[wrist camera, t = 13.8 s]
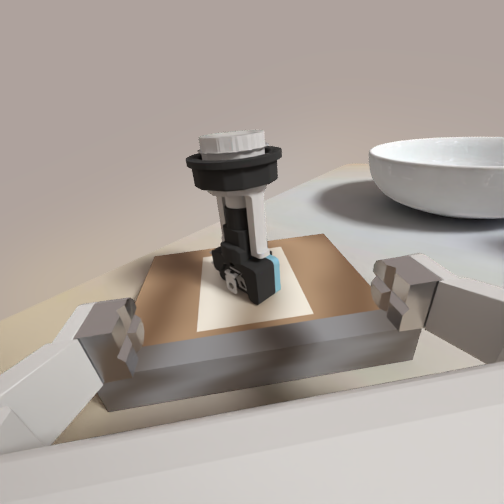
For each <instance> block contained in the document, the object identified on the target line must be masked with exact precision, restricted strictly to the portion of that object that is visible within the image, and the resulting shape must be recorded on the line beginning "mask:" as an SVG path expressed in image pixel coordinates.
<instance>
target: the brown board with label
mask: <svg viewBox="0 0 504 504" xmlns="http://www.w3.org/2000/svg"><path fill="white" fill-rule="evenodd" d="M267 242H268V248H269V250H270V251H272V255H273V256H275V257H277V258H278V260H279V264H280V284H281V290H279V291H278V292H276V293H275V294H274V295H272V296H271V297H269V298H268V299H266V300H265V301H263V302H262V303H260V304H259V305H255V304H254V303H252V302H251V301H250V300H249V297H248V294H246V293H244V292H243V291H241V290H240V289H238V288H237V291H238V293H237V294H234V293H233V292H231V291H230V290H229V289H228V288H227V283H226V281H225V280H223V279H222V278H221V276H220V272H219V271H218V270H216V269H215V267H214V264H212V263H211V262H212V261H213V258H212V254H210V253H209V252H210V251H212V250H214V249H216V248H214V249H206V250H199V251H191V252H184V253H177V254H169V255H162V256H155V257H154V260H153V262H152V264H151V267H150V269H149V272H148V274H147V276H146V279H145V281H144V283H143V286H142V288H141V291H140V293H139V295H138V298H137V300H136V303H135V305H136V307H137V308H136V311H135V315H137V316H138V317H140V318H141V320H142V323H143V327H144V342H143V345H142V348H141V349H140V350H139V351H138V352H137V353H136V354H137V357H138V362H137V365H136V369H135V372H134V375H133V378H128V379H123V380H118V381H113V382H108V383H103V386H102V387H101V388H100V390H99V391H98V392H97V393H98V395H99V397H100V398H101V400H102V402H103V404H104V405H105V407H106V409H107V410H108V412H111V411H117V410H123V409H128V408H134V407H140V406H146V405H152V404H157V403H163V402H169V401H175V400H181V399H187V398H192V397H198V396H204V395H210V394H216V393H222V392H227V391H233V390H239V389H245V388H251V387H257V386H262V385H268V384H274V383H280V382H286V381H291V380H297V379H303V378H309V377H315V376H321V375H326V374H332V373H338V372H344V371H350V370H356V369H361V368H367V367H373V366H379V365H385V364H391V363H396V362H402V361H408V360H413V356H414V353H415V350H416V346H417V343H418V339H419V336H420V333H421V329H422V328H421V329H414V330H407V331H400V332H399V331H398V330H397V329H396V328H395V326H394V325H393V324H392V323H391V322H390V321H389V319H388V318H387V312H386V311H384V310H382V309H380V308H378V306H377V305H376V304H375V302H374V300H373V298H372V295H371V286H370V285H369V284H368V283H367V282H366V281H365V280H364V278H363V277H362V276H361V275H360V274H359V273H358V272H357V271H356V270H355V268H354V267H353V266H352V265H351V264H350V263H349V262H348V261H347V259H346V258H345V257H344V256H343V255H342V254H341V253H340V252H339V251H338V249H337V248H336V247H335V246H334V245H333V244H332V243H331V242H330V240H329V239H328V238H327V237H326V236H325V235H324V234H317V235H310V236H303V237H295V238H288V239H280V240H273V241H267ZM230 286H231V287H232V288H234V287H233V285H231V284H230Z"/></svg>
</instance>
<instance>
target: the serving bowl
mask: <svg viewBox="0 0 504 504" xmlns="http://www.w3.org/2000/svg"><path fill="white" fill-rule="evenodd" d="M369 166H370V172H371V175H372V178H373V180H374V182H375V184H376V185H377V187H378V188H379V189H380V190H381V191H382V192H383V193H384V194H385V195H386V196H388V197H389V198H391V199H393V200H394V201H396V202H399V203H401V204H403V205H406V206H408V207H411V208H414V209H418V210H421V211H425V212H428V213H432V214H436V215H440V216H446V217H453V218H464V219H477V218H504V137H448V138H447V137H446V138H427V139H414V140H405V141H397V142H391V143H386V144H382V145H378V146H375V147H374V148H372V149H371V150H370V151H369Z"/></svg>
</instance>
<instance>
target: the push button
mask: <svg viewBox="0 0 504 504" xmlns="http://www.w3.org/2000/svg"><path fill="white" fill-rule="evenodd" d="M199 143H200V150H198V152H199V153H198V154H194V155H192V156H189V157H187V158H186V163H187V167H189V168H191V169H192V172H193V177H194V183H195V186H196V187H198V188H200V189H201V190H208V192H209V193H210V194H212V195H213V196H216V197H217V204H218V210H219V216H220V223H221V229H222V242H221V246H220V247H218V248H216V249H214V250H212V251H210V252H209V253H210V254H212V258H213V261H212V262H211V263H212V264H214V267H215V269H216V270H218V271H219V272H220V276H221V278H222V279H223V280H225V281H226V283H227V288H228V289H229V290H230V291H231V292H233V293H234V294H237V293H238V291H237V288H238V289H240V290H241V291H243V292H244V293H246V294H248V297H249V300H250V301H251V302H252V303H254V304H255V305H259V304H260V303H262V302H263V301H265V300H266V299H268V298H269V297H271V296H272V295H274V294H275V293H276V292H278V291H279V290H281V284H280V264H279V260H278V258H277V257H275V256H273V255H272V251H270V250H269V248H268V242H267V233H266V218H265V204H264V191H265V189H266V186H267V184H270V183H271V182H273V181H275V180H276V179H277V178H278V177H277V176H278V175H277V160H278V159H280V158H281V157H282V150H281V148H279V147H273V146H268V143H266V142H265V137H264V131H263V130H246V131H245V130H244V131H232V132H224V133H216V134H210V135H205V136H200V137H199ZM230 284H231V285H233V287H234V288H232V287H231V286H230Z"/></svg>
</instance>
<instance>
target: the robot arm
mask: <svg viewBox="0 0 504 504" xmlns="http://www.w3.org/2000/svg"><path fill="white" fill-rule="evenodd" d="M373 272H374V273H375V275H376V277H375V278H374V279H373V281H372V282H371V295H372V298H373V300H374V302H375V304H376V305H377V306H378V308H380V309H382V310H384V311H386V312H387V318H388V319H389V321H390V322H391V323H392V324H393V325H394V326H395V328H396V329H397V330H398V331H399V332H400V331H407V330H414V329H421V328H425V330H427V331H429V332H430V333H432V334H434V335H436V336H438V337H439V338H441V339H443V340H445V341H447V342H448V343H450V344H452V345H454V346H455V347H457V348H459V349H461V350H463V351H464V352H466V353H468V354H470V355H471V356H473V357H475V358H477V359H479V360H480V361H482V362H484V363H486V364H484V365H479V366H473V367H468V368H463V369H457V370H452V371H446V372H441V373H436V374H430V375H425V376H420V377H414V378H409V379H404V380H398V381H393V382H388V383H382V384H377V385H372V386H366V387H361V388H356V389H350V390H345V391H339V392H334V393H329V394H323V395H318V396H313V397H307V398H302V399H297V400H291V401H286V402H280V403H275V404H270V405H264V406H259V407H254V408H248V409H243V410H238V411H232V412H227V413H221V414H216V415H211V416H205V417H200V418H195V419H189V420H184V421H179V422H173V423H168V424H163V425H157V426H152V427H147V428H141V429H136V430H130V431H125V432H120V433H114V434H109V435H104V436H98V437H93V438H88V439H82V440H77V441H72V442H66V443H61V444H56V445H51V444H52V443H53V442H54V441H55V440H56V439H57V438H58V436H59V435H60V434H61V433H62V432H63V431H64V430H65V428H66V427H67V426H68V425H69V424H70V423H71V422H72V420H73V419H74V418H75V417H76V416H77V415H78V414H79V412H80V411H81V410H82V409H83V408H84V407H85V406H86V404H87V403H88V402H89V401H90V400H91V399H92V398H93V396H94V395H95V394H96V393H97V392H98V391H99V390H100V388H101V387H102V386H103V383H108V382H113V381H118V380H123V379H128V378H133V375H134V372H135V369H136V365H137V362H138V357H137V354H136V353H137V352H138V351H139V350H140V349H141V348H142V345H143V342H144V327H143V323H142V320H141V318H140V317H138V316H137V315H135V311H136V308H137V307H136V305H135V303H134V300H133V299H131V298H123V299H115V300H108V301H100V302H93V303H86V304H81V305H79V306H77V308H76V309H75V311H74V312H73V314H72V315H71V316H70V318H69V319H68V321H67V322H66V324H65V325H64V326H63V328H62V329H61V331H60V332H59V334H58V335H57V336H56V338H55V339H54V341H53V342H52V343H49V344H45V345H44V346H42V347H41V348H39V349H38V350H36V351H35V352H33V353H32V354H30V355H29V356H27V357H26V358H25V359H23V360H22V361H20V362H19V363H17V364H16V365H14V366H13V367H11V368H10V369H8V370H7V371H5V372H4V373H2V374H1V375H0V504H504V288H502V287H498V286H494V285H491V284H487V283H484V282H480V281H477V280H473V279H470V278H466V277H461V278H459V277H458V276H456V275H455V274H453V273H452V272H450V271H449V270H447V269H446V268H444V267H443V266H441V265H440V264H438V263H437V262H435V261H434V260H432V259H431V258H429V257H428V256H426V255H425V254H422V253H416V254H411V255H406V256H402V257H396V258H390V259H384V260H378V261H376V263H375V264H374V269H373Z"/></svg>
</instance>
